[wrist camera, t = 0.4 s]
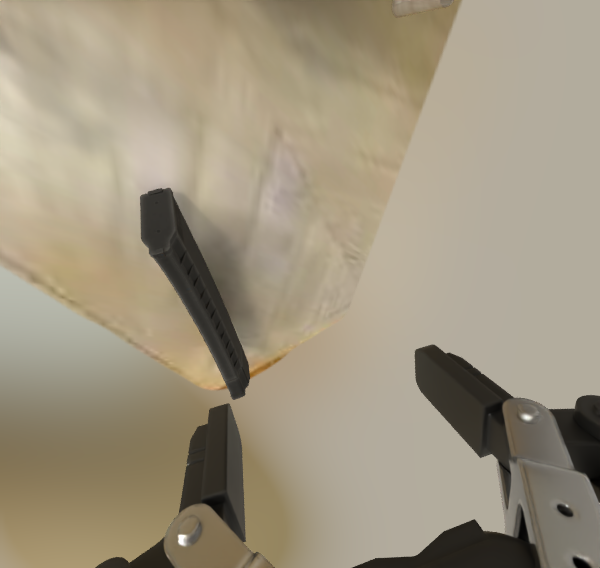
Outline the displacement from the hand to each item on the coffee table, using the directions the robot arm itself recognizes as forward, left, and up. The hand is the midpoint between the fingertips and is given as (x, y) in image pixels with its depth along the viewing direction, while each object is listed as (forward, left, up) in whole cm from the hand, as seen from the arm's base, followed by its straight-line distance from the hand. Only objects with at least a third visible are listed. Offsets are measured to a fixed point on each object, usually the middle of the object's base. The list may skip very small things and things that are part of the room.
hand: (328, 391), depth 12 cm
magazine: (+5, -16, -30) cm, 34 cm away
